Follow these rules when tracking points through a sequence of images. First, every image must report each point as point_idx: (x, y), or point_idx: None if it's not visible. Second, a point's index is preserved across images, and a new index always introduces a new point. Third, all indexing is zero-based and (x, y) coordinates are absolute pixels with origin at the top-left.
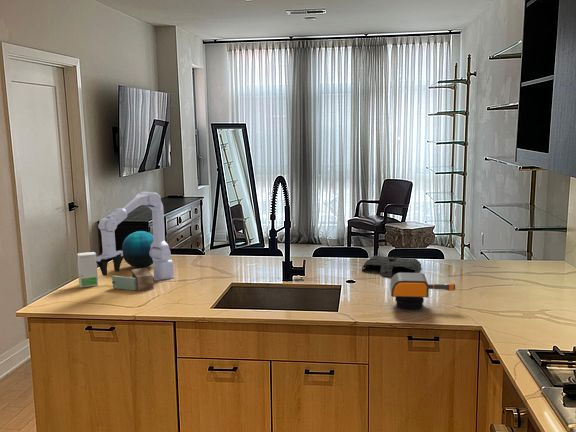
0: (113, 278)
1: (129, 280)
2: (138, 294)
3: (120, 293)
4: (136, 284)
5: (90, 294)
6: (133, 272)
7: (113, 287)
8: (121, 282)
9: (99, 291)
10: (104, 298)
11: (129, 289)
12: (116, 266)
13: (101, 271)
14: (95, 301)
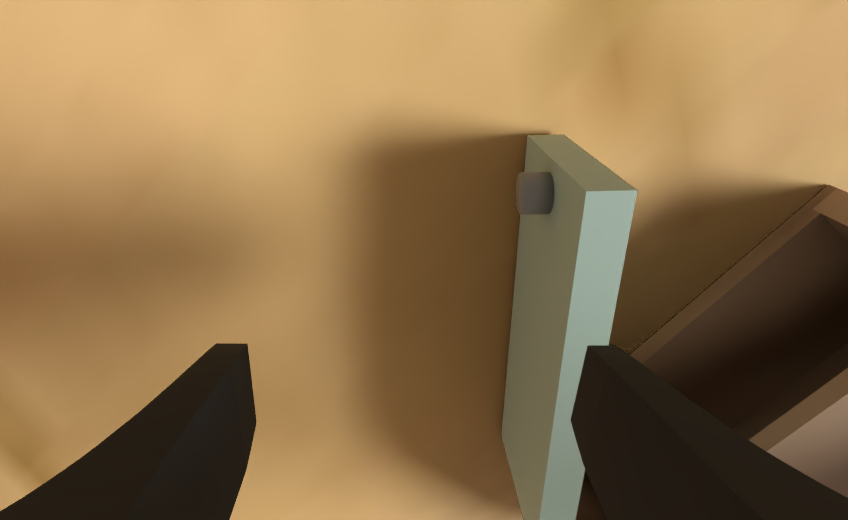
0: (567, 206)
1: (533, 474)
2: (423, 513)
3: (378, 365)
4: (687, 344)
5: (149, 49)
6: (826, 400)
7: (528, 146)
8: (534, 330)
9: (326, 61)
10: (151, 345)
11: (507, 382)
12: (632, 482)
13: (161, 398)
14: (14, 338)
